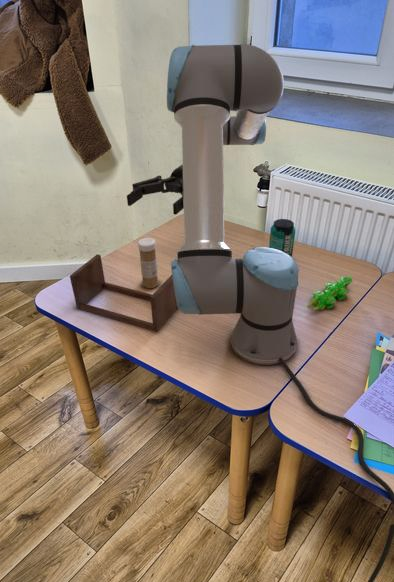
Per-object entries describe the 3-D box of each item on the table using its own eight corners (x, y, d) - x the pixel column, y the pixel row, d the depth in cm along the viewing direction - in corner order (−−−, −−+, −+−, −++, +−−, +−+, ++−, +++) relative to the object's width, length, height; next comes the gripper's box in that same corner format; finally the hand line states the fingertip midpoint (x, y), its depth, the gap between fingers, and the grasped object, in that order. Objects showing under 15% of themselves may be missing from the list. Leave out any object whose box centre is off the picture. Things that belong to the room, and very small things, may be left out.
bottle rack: (157, 331, 115) (154, 298, 109) (76, 308, 123) (69, 275, 117) (179, 306, 123) (178, 273, 117) (102, 285, 131) (96, 254, 125)
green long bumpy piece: (358, 290, 127) (361, 277, 125) (320, 318, 118) (322, 305, 115) (337, 281, 131) (340, 268, 128) (298, 308, 122) (300, 294, 119)
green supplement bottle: (291, 255, 143) (296, 218, 135) (291, 267, 138) (296, 229, 130) (268, 254, 144) (271, 217, 136) (267, 265, 138) (270, 228, 131)
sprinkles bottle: (152, 278, 134) (148, 235, 125) (161, 285, 131) (158, 241, 123) (139, 284, 132) (134, 240, 123) (148, 290, 129) (144, 247, 120)
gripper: (227, 196, 133) (195, 227, 118) (150, 184, 141) (112, 210, 126) (227, 170, 128) (194, 198, 113) (148, 158, 136) (108, 183, 122)
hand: (150, 205), depth 120 cm, fingers open, 13 cm apart
